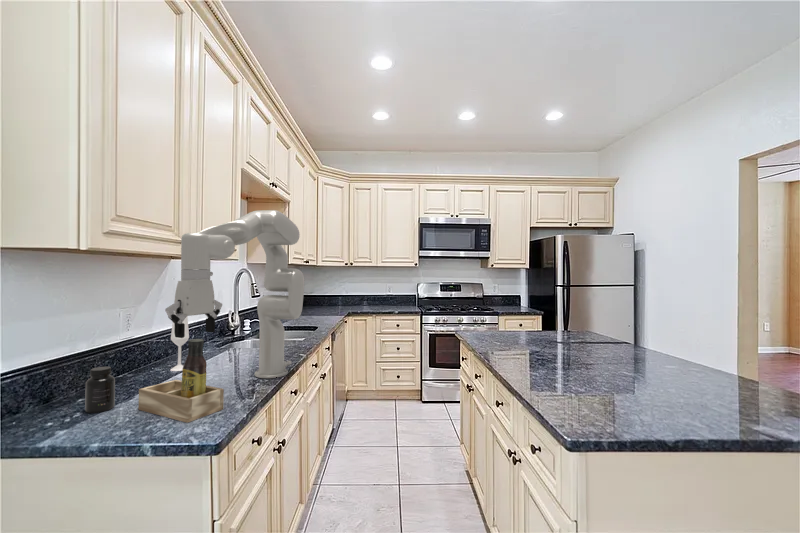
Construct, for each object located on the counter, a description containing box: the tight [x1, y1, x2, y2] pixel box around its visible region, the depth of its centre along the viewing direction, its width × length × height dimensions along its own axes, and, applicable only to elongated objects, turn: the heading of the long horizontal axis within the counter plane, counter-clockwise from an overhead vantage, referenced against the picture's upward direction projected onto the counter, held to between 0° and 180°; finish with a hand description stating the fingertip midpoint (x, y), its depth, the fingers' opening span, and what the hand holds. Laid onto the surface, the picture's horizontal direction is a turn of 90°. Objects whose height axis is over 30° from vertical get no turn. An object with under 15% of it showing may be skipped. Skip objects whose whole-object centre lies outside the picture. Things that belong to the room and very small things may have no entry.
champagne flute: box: [169, 313, 190, 372], centre depth 159 cm, size 7×7×24 cm
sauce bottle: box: [181, 338, 207, 398], centre depth 110 cm, size 6×6×20 cm
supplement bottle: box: [84, 366, 116, 414], centre depth 112 cm, size 7×7×12 cm
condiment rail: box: [137, 379, 225, 424], centre depth 112 cm, size 11×22×6 cm, turn 65°
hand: (195, 334), depth 111 cm, fingers open, 9 cm apart
